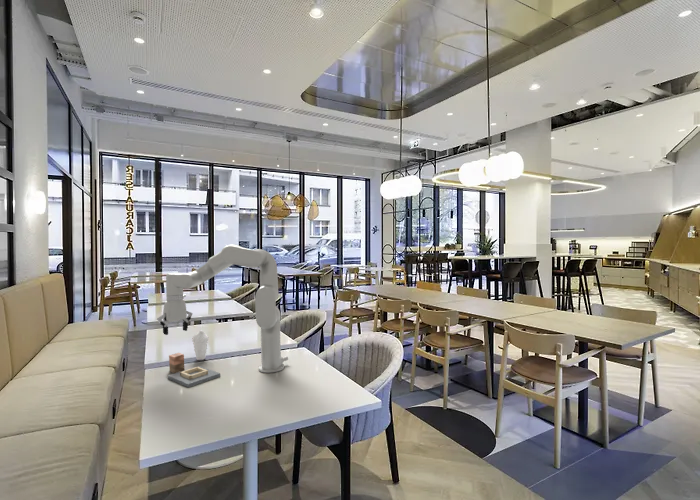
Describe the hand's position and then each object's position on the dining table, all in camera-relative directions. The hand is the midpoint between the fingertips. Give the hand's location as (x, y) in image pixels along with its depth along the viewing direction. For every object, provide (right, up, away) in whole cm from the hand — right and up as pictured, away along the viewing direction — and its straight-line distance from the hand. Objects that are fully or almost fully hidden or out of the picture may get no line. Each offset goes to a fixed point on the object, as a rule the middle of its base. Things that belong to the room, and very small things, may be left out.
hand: (175, 332), depth 188 cm
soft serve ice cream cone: (+5, -19, +19) cm, 27 cm away
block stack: (0, -19, +1) cm, 19 cm away
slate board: (+13, -19, -9) cm, 25 cm away
